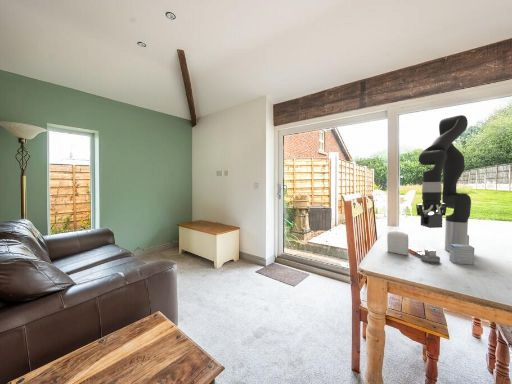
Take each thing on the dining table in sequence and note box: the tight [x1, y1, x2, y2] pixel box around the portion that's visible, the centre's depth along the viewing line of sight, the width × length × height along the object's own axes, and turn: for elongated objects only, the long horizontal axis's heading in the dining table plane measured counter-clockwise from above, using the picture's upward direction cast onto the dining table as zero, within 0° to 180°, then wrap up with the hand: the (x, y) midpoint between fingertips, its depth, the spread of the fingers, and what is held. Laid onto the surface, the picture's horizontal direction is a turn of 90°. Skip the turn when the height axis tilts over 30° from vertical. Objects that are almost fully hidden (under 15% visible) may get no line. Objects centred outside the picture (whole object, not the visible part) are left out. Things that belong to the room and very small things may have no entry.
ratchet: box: [408, 247, 441, 265], centre depth 115 cm, size 8×18×6 cm, turn 0°
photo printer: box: [387, 230, 409, 256], centre depth 122 cm, size 10×4×12 cm, turn 39°
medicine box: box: [448, 244, 475, 265], centre depth 106 cm, size 8×4×9 cm, turn 71°
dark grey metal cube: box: [420, 211, 443, 229], centre depth 108 cm, size 6×6×6 cm
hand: (431, 224), depth 109 cm, fingers closed on dark grey metal cube, 6 cm apart
